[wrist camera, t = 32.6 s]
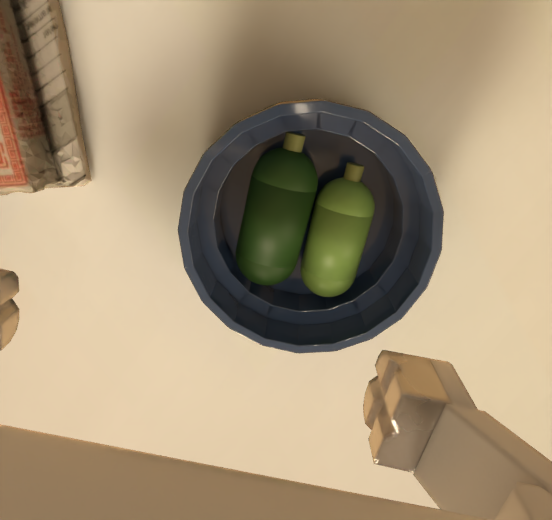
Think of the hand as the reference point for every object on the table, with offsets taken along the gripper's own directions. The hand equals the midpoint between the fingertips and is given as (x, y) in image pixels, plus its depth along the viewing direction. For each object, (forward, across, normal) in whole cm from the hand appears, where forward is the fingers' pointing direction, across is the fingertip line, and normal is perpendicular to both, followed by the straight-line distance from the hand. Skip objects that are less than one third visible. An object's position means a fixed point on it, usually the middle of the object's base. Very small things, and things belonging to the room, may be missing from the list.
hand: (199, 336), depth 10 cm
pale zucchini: (+21, -5, +3) cm, 21 cm away
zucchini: (+21, -2, +3) cm, 21 cm away
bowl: (+22, -4, +3) cm, 22 cm away
